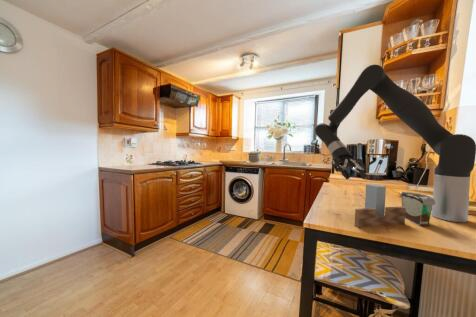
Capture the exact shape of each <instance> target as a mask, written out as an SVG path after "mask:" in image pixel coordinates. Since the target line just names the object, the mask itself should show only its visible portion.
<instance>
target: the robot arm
mask: <svg viewBox="0 0 476 317" xmlns="http://www.w3.org/2000/svg"><path fill="white" fill-rule="evenodd" d="M369 90H370V91H371V92H372V93H373V94H375V95H376V96H378V97H379V98H380V99H381V100H382V101H383V103H384V104H385V105H386V106H387V108H388V109H389V110H390V111H391V113H393V114H394V115H395V116H396V117H397V118H398V119H399V120H400V121H402V122H403V123H404V124H406V126H407V127H409V128H410V129H411V130H412V131H414V132H415V133H416V134H418V136H420V137H421V138H422V139H423V140H424V141H425V143H426V144H427V146H429V147H430V148H431V150H432V151H433V152H434V153H435V154H436V155H438V161H437V162H438V163H437V165H436V166H435V168H434V171H433V172H434V174H433V175H434V176H433V188H432V189H433V192H432V197H433V199H434V200H435V205H432V210H431V216H432V217H434V218H437V219H440V220H444V221H448V222H455V223H468V221H469V205H470V184H471V174H472V172H473V171H474V167H475V161H476V141H475V140H474V138H472V136H469V135H466V134H462V133H461V134H459V133H456V134H453V133H451V131H449V130H448V129H447V128H445V127H443V126H442V125H441V124H440V123H439V121H438V120H437V119H436V117H435V116H434V114H433V112H432V110H431V109H430V108H429V107H428V106H427V105H426V103H424V102H423V101H422V100H421V99H420V98H418V96H416V95H415V94H413V93H412V92H410V91H408V90H406V89H405V88H403V87H401V86H399V85H398V84H396V83H395V82H394V81H393V80H392V79H391V78H390V77H389V75H387V73H386V72H385V69H384V68H383V67H382V66H381V65H380V64H371V65H368V66H366V67H365V68H364V69H362V71H361V72H360V74H359V75H358V77H357V79H356V81H355V82H354V83H353V85H352V86H351V88H350V89H349V90H348V92H347V94H346V95H345V96H344V97H343V98H342V100H341V101H340V102H339V103H338V105H337V106H336V107H335V108H334V109H333V111H332V112H331V113H330V114H329V115H328V117H327V119H328V121H329V124H327V123H322V122H321V123H318V124H316V125H315V128H314V132H315V135H316V137H318V138H319V140H320V141H322V143H324V145H325V146H326V148H327V150H328V152H329V153H330V155H331V157H332V158H333V160H332V161H331V165H332V166H333V168H334V171H335V172H337V173H340V174H342V176H343V178H344V179H346V180H349V179H350V178H351V175H350V173H349V171H348V170H347V169H349V170H352V171H355V172H357V173H358V175H359V176H360V177H361V179H362V180H366V179H367V178H368V174H366V172H365V170H366V169H367V167H366V166H365V164H364V163H363V162H362V161H361V160H360V159H359V158H357V159H356V160H355V159H353V157H352V153H351V152H350V150H349V149H348V148H347V147H346V145H345V144H344V143H343V142H342V141H341V139H340V138H339V137H338V136H337V134H336V132H337V130H338V129H339V127H340V126H341V123H342V122H343V121H344V120H345V119H346V118H347V117H348V115H349V114H350V113H351V112H352V111H353V109H354V108H355V106H356V104H357V103H358V102H359V101H360V99H361V98H363V96H364V95H365V94H366V93H368V91H369Z"/></svg>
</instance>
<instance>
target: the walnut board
mask: <svg viewBox="0 0 476 317" xmlns="http://www.w3.org/2000/svg"><path fill="white" fill-rule="evenodd" d="M376 210H377V209H374V208H365V207H364V208H355V210H354V226H355V227H357V228H367V227H380V226H381V227H382V226H392V225H404V224H405V223H406V219H405V211H406V208H405V207H402V205H401V206H385V214H384V216H376Z"/></svg>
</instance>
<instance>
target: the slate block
mask: <svg viewBox="0 0 476 317" xmlns="http://www.w3.org/2000/svg"><path fill="white" fill-rule="evenodd" d="M386 195H387V186H385V185H380V184H375V183H367V184H365V196H364V197H365V198H364V208H374V209H377V210H376V216H384V215H385V207H386Z"/></svg>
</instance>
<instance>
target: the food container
mask: <svg viewBox="0 0 476 317" xmlns="http://www.w3.org/2000/svg"><path fill="white" fill-rule="evenodd" d="M400 197H401V206H402V207H405V208H406V211H405V220H407V221H409V222H411V223H413V224H415V225H417V226H419V227H428V226H429V225H430V220H431V216H432V205H435V200H434V199H433V196H431V195H427V194H421V193H417V192H408V191H402V192H401V193H400Z"/></svg>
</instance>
